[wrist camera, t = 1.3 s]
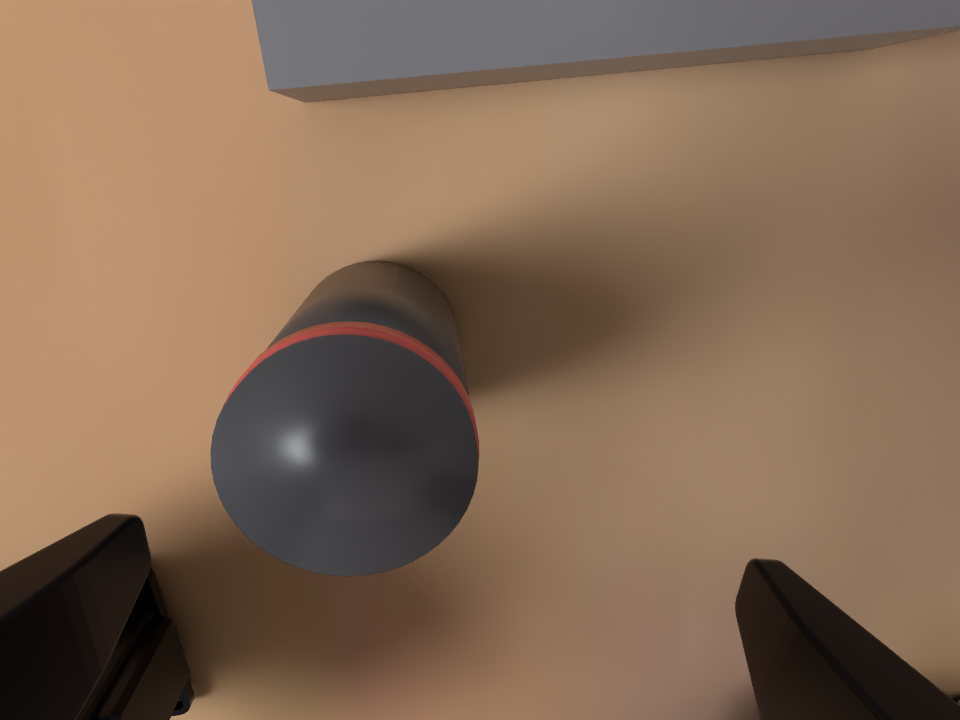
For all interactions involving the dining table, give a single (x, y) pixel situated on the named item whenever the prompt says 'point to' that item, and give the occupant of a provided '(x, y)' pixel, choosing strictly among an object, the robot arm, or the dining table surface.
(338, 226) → the dining table surface
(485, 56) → the octagon ring plate
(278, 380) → the lens
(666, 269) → the dining table surface
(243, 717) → the dining table surface
